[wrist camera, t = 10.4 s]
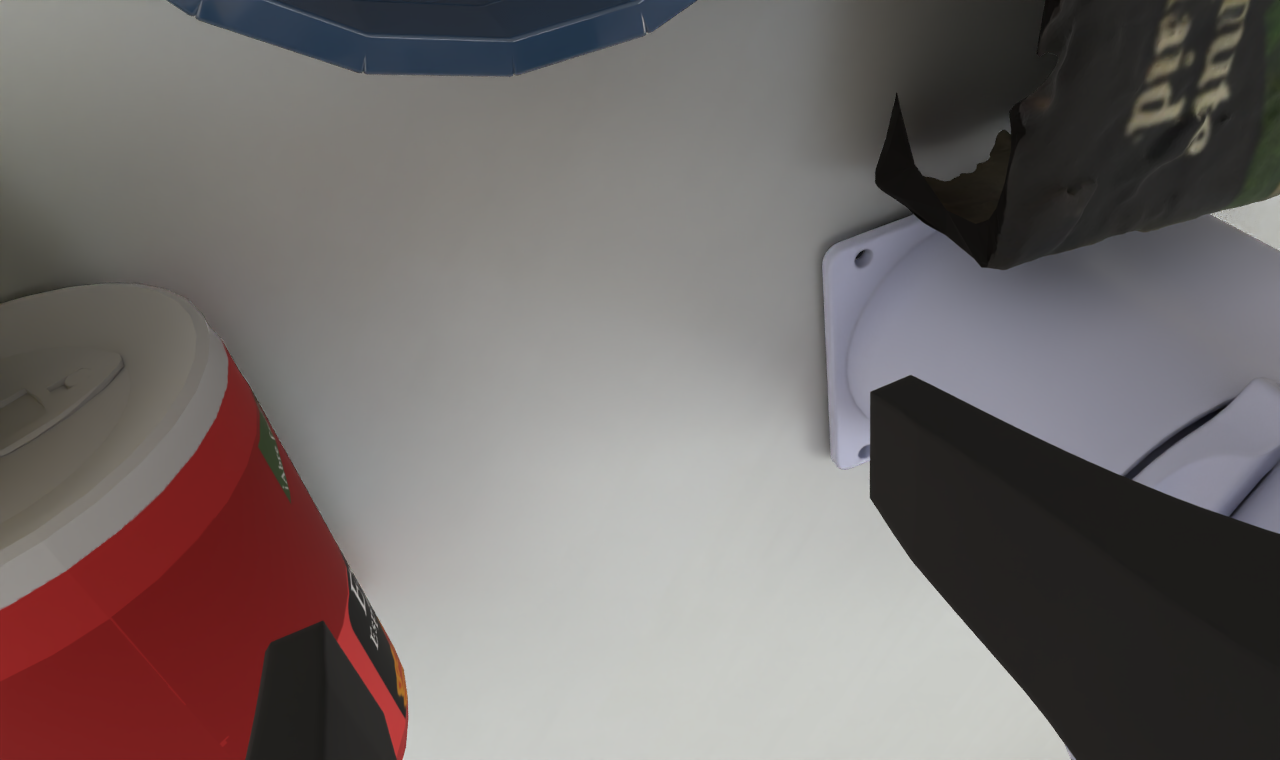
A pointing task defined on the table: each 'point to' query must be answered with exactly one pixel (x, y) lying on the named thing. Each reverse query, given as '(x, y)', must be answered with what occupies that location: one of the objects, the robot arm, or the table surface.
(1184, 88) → the juice carton
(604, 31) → the bowl
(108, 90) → the table surface
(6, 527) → the canned food
